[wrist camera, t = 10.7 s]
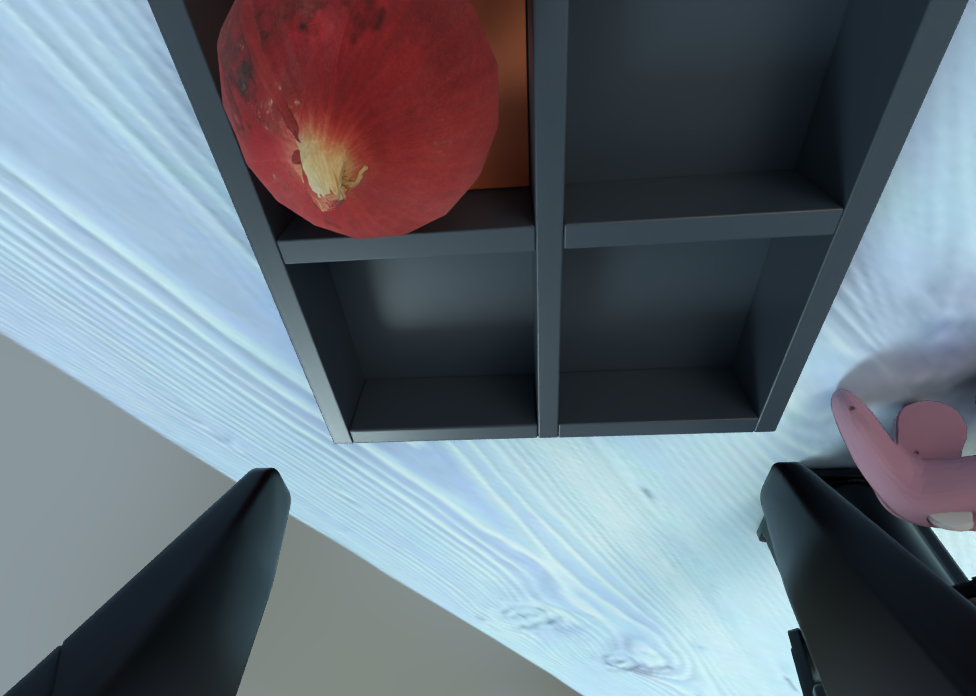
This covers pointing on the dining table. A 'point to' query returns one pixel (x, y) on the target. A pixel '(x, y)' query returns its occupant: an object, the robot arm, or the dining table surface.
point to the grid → (603, 219)
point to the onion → (361, 106)
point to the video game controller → (913, 461)
